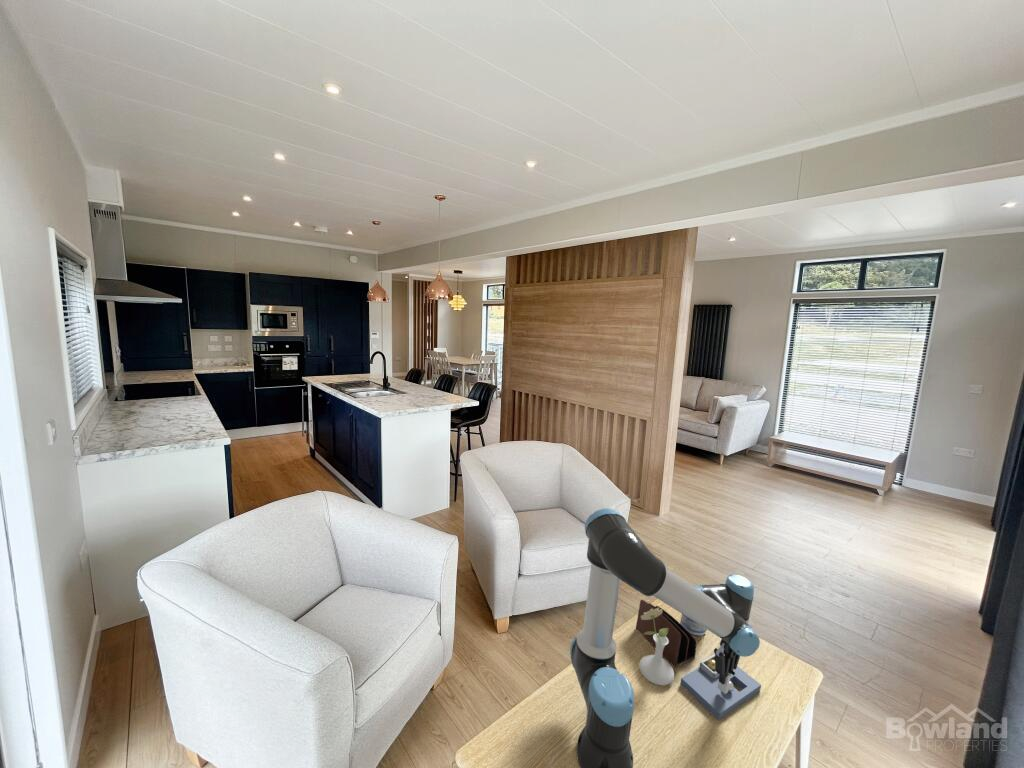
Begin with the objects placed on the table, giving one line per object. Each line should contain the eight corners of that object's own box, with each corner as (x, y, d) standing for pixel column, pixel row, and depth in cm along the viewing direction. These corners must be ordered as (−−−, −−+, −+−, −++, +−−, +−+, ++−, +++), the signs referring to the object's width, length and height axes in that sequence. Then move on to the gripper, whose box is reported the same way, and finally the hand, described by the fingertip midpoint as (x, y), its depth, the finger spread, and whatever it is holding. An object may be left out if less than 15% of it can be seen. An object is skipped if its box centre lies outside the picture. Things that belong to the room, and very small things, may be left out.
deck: (718, 720, 128) (720, 708, 127) (680, 684, 140) (682, 672, 139) (759, 691, 139) (762, 679, 138) (721, 659, 151) (723, 649, 150)
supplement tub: (680, 632, 163) (685, 598, 160) (679, 615, 172) (684, 583, 169) (707, 640, 160) (713, 605, 157) (705, 623, 169) (710, 590, 166)
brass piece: (713, 676, 141) (714, 666, 140) (703, 668, 144) (705, 658, 143) (719, 672, 143) (721, 662, 142) (710, 664, 146) (711, 655, 145)
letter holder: (675, 668, 146) (680, 633, 144) (635, 628, 164) (639, 596, 161) (695, 659, 151) (700, 625, 148) (654, 621, 168) (658, 590, 165)
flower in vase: (668, 662, 148) (677, 599, 144) (677, 691, 137) (688, 624, 133) (631, 657, 150) (638, 595, 145) (637, 685, 138) (645, 619, 134)
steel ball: (736, 683, 134) (735, 691, 135) (727, 675, 137) (726, 683, 138) (729, 688, 133) (729, 696, 134) (720, 680, 136) (720, 688, 137)
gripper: (731, 640, 123) (720, 708, 127) (757, 626, 130) (746, 690, 134) (709, 623, 130) (699, 688, 134) (734, 610, 136) (724, 672, 140)
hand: (722, 689), depth 134 cm, fingers closed
